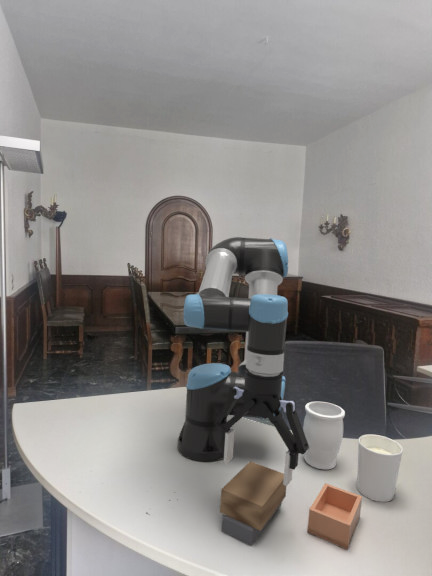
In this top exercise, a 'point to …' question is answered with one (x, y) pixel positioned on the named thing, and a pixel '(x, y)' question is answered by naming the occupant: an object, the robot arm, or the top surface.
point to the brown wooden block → (253, 495)
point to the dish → (334, 515)
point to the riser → (241, 529)
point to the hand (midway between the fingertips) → (256, 470)
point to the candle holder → (378, 467)
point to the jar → (323, 433)
